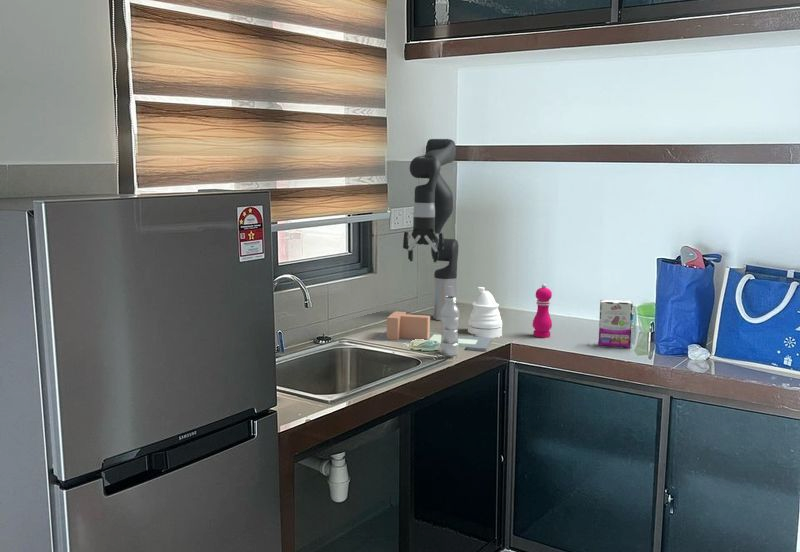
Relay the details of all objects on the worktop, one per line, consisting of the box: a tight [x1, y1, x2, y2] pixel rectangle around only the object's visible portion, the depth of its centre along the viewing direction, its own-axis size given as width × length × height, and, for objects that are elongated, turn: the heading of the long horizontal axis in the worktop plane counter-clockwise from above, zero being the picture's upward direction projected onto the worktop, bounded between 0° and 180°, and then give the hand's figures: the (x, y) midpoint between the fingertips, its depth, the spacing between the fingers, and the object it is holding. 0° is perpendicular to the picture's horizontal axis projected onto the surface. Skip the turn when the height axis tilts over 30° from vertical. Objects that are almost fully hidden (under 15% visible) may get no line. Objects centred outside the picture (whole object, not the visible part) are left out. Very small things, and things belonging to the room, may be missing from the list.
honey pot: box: [467, 286, 503, 339], centre depth 288 cm, size 13×13×18 cm
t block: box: [386, 311, 431, 340], centre depth 278 cm, size 12×14×8 cm
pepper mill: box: [532, 283, 553, 339], centre depth 287 cm, size 7×7×20 cm
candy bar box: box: [598, 299, 633, 349], centre depth 274 cm, size 11×5×16 cm, turn 77°
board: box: [374, 329, 493, 352], centre depth 276 cm, size 17×40×1 cm, turn 76°
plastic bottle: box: [439, 296, 461, 358], centre depth 254 cm, size 6×7×20 cm
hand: (423, 261), depth 270 cm, fingers open, 8 cm apart
